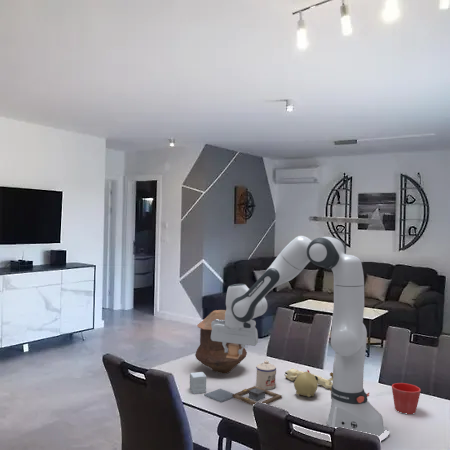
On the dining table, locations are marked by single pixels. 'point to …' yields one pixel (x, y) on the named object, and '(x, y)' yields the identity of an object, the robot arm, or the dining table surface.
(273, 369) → the teacup with lid
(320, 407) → the dining table surface
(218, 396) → the pad
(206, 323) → the pottery vessel
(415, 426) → the dining table surface
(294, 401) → the dining table surface
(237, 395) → the frame
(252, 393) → the grey square block
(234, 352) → the tan domed square base
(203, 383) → the product box
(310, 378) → the toy pig
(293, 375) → the cat figure
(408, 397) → the flower pot
